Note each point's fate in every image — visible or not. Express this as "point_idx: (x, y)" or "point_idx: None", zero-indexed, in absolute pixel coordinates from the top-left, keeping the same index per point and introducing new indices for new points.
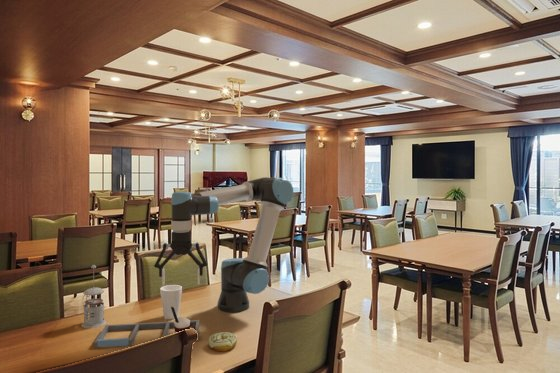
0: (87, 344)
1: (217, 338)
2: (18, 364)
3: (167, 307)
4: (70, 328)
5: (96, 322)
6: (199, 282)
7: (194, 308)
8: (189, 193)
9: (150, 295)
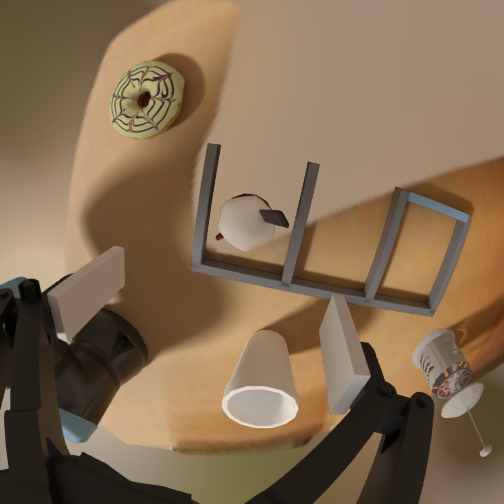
0: (471, 239)
1: (156, 86)
2: None
3: (278, 352)
4: (470, 334)
5: (439, 340)
6: (107, 250)
7: (202, 371)
8: None
9: (292, 447)
